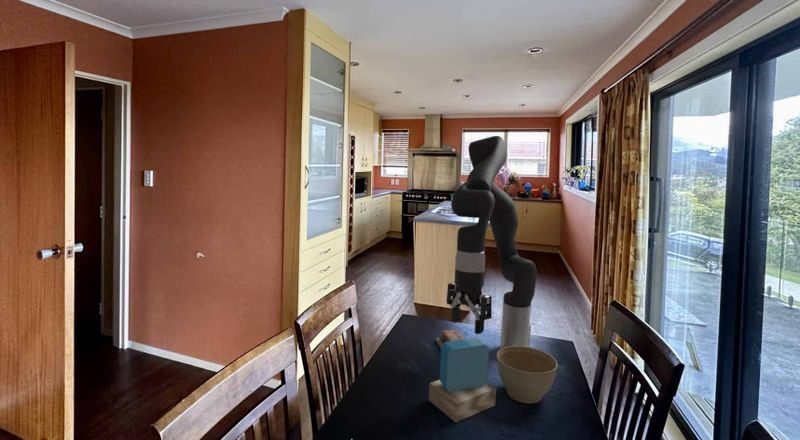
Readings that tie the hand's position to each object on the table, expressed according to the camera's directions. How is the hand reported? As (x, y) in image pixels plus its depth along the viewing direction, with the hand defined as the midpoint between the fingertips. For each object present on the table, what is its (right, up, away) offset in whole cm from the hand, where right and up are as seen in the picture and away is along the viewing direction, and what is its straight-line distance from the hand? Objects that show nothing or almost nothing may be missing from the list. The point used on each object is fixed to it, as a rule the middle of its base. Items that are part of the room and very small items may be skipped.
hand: (467, 327), depth 104 cm
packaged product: (+2, -18, +34) cm, 38 cm away
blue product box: (-1, -17, +3) cm, 17 cm away
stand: (-1, -21, +3) cm, 22 cm away
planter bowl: (+17, -21, +8) cm, 29 cm away
